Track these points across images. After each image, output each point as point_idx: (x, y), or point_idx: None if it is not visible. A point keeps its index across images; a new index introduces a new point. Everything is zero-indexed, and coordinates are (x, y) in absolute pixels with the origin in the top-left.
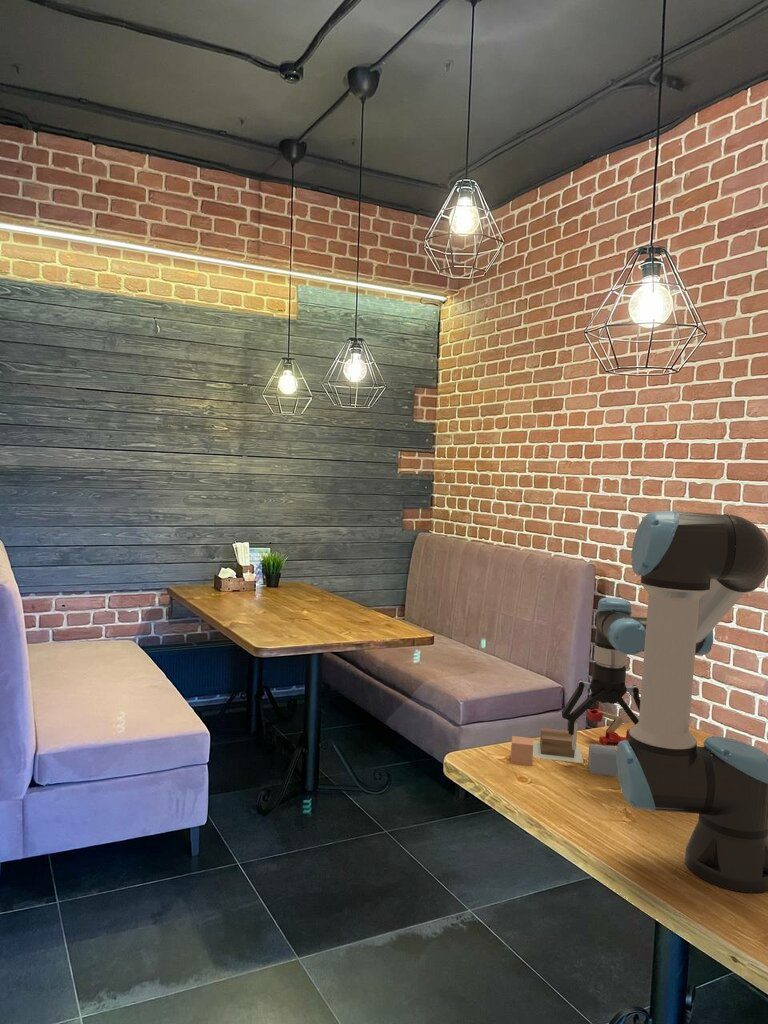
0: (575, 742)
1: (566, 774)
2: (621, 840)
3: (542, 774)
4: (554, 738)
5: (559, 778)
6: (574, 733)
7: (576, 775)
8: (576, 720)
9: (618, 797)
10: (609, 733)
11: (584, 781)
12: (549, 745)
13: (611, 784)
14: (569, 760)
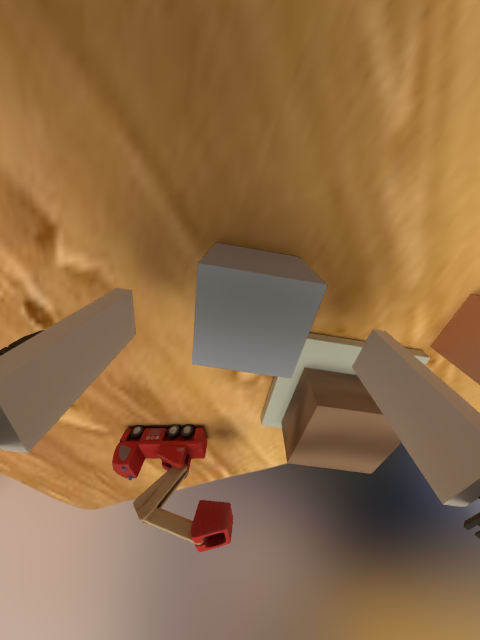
0: (398, 349)
1: (370, 272)
2: None
3: (459, 261)
4: (378, 421)
5: (417, 233)
6: (446, 386)
7: (339, 268)
8: (462, 494)
9: (255, 30)
10: (182, 463)
11: (335, 217)
12: None
13: (243, 203)
14: (327, 349)
